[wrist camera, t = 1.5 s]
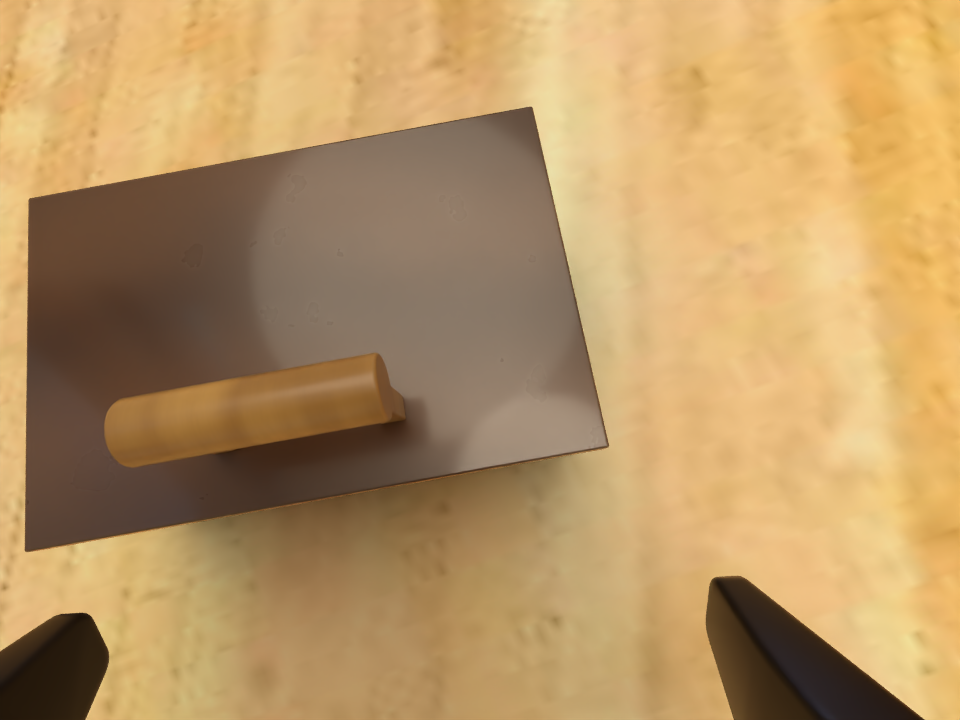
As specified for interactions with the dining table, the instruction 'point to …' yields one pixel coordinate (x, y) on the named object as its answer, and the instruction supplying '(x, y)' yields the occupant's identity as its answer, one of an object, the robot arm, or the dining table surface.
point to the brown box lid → (299, 330)
